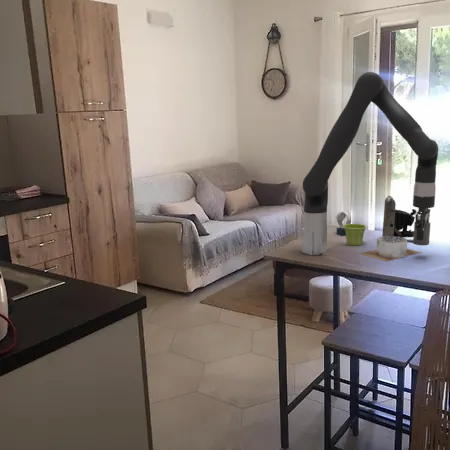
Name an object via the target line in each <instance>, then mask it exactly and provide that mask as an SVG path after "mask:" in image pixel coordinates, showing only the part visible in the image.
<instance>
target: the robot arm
mask: <svg viewBox="0 0 450 450" xmlns="http://www.w3.org/2000/svg"><path fill="white" fill-rule="evenodd" d="M372 103H373V104H374V105H375V106H376V107H377V108H378V109H379V110H380V111H381V112H382V113H383V115H384V116H385V117H386V119H387V120H388V122H389V123H390V125H392V127H393V129H395V130H396V131H397V132H398V134H400V136H401V137H402V138H403V139H404V140H405V141H406V143H407V144H408V145H409V147H410V148H411V150H412V151H413V152H414V153H415V155H416V156H417V165H416V169H415V174H414V175H415V177H414V185H413V195H412V197H413V198H412V207H414V208H418V211H417V212H416V214H415V215H414V217H415V219H414V222H415V229H416V230H417V238H416V239H417V240H421V241H422V240H423V232H424V225H426V222H429V223H430V215H431V209H432V208H434V207H435V205H436V204H435V202H436V191H437V189H436V179H437V178H436V177H437V162H438V156H439V154H438V153H439V145H438V143H437V142H436V141H435V140H434V139H431V138H430V137H429V136H428V135H427V134H426V133H425V131H423V129H422V127H421V125H420V124H419V123H418V122H417V121H416V120H415V118H414V117H413V116H412V115H411V114H410V113H409V112H408V111H407V110H406V109H405V108H404V107H403V106H402V105H401V104H400V103H399V102H398V101H397V100H396V98H394V96H393V95H392V93H391V92H390V91H389V89H388V87H387V86H386V84H385V82H384V80H383V78H382V77H381V76H380V75H379V74H378V73H377V72H374V71H367V72H364V73H363V74H361V75H360V76H359V77H358V79H357V80H356V83H355V85H354V88H353V89H352V91H351V95H350V97H349V99H348V101H347V103H346V104H345V107H344V108H343V110H342V111H341V113H340V114H339V116H338V118H337V120H336V121H335V122H334V124H333V126H332V128H331V129H330V132H329V134H328V136H327V137H326V139H325V142H324V144H323V145H322V148H321V150H320V153H319V155H318V157H317V159H316V161H315V162H314V164H313V166H312V167H311V168H310V170H309V172H308V173H307V174H306V175H305V176H304V179H303V180H302V189H303V191H304V193H305V194H304V195H305V199H304V204H303V229H302V230H301V234H302V235H301V252H302V254H306V255H310V256H321V255H323V254H324V253H326V252H327V251H328V248H327V247H328V202H329V179H330V177H331V174H332V173H333V170H334V169H335V167H336V165H337V164H338V163H340V161H341V160H342V159H343V156H345V154H346V152H348V150H349V148H350V146H351V145H352V143H353V142H354V139H355V138H356V136H357V133H358V132H359V129H360V126H361V122H362V119H363V117H364V115H365V112H366V110H367V109H368V107H369V106H370V104H372ZM419 224H421V227H419Z"/></svg>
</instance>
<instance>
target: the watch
mask: <svg viewBox="0 0 450 450" xmlns="http://www.w3.org/2000/svg"><path fill="white" fill-rule="evenodd" d="M345 218H346V221H345V224H343V221H344V220H345ZM335 219H336V222H337V224H338V227H336V235H338V236H340V237H344V236H345V237H346V232H345V228H344V225H346V224H352V215H351V214H350V212H349V211H345V210H344V211H343V210H342V211H340V212H338V213H337V214H336V215H335Z"/></svg>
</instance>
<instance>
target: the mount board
mask: <svg viewBox="0 0 450 450" xmlns="http://www.w3.org/2000/svg"><path fill="white" fill-rule="evenodd" d="M358 253H359V255H362V256H366V257H370V258H373V259H375V260H380V261H383V262H389V261H394V260H398V259H399V258H386V257H382V256H379V255H378V254H377V248H376V249H372V250H368V251H367V250H366V251H364V252H358ZM422 253H423V252H421V251H418V250H414V249H410V248H407V255H406V256H405V257H410V256H414V255H418V254H422ZM405 257H404V258H405ZM401 258H403V257H401ZM401 258H400V259H401Z"/></svg>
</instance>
